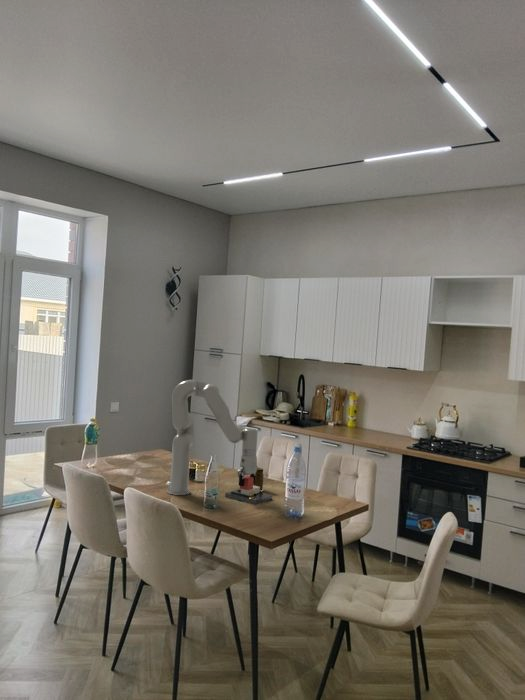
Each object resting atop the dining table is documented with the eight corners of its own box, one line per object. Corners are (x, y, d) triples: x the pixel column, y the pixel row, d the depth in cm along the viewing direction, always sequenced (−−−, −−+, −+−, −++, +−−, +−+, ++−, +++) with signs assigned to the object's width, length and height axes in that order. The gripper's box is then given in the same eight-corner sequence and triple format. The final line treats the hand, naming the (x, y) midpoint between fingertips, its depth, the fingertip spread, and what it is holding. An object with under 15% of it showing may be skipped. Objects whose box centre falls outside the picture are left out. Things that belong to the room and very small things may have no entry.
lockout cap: (239, 488, 296) (240, 477, 296) (245, 486, 300) (245, 475, 300) (247, 490, 293) (248, 478, 293) (252, 488, 297) (253, 477, 297)
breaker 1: (240, 494, 295) (241, 488, 295) (246, 492, 300) (246, 487, 300) (248, 496, 293) (249, 490, 293) (254, 494, 297) (254, 489, 297)
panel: (225, 496, 297) (225, 491, 297) (241, 491, 310) (241, 486, 310) (256, 504, 286) (256, 499, 286) (272, 499, 299) (272, 494, 299)
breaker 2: (246, 492, 301) (247, 486, 301) (251, 490, 305) (252, 485, 305) (254, 494, 298) (254, 488, 298) (259, 492, 302) (260, 486, 302)
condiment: (259, 488, 321) (261, 467, 321) (266, 491, 314) (268, 470, 314) (248, 488, 318) (249, 467, 318) (255, 492, 310) (257, 471, 310)
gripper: (245, 455, 287) (243, 488, 287) (263, 451, 302) (261, 483, 302) (233, 452, 291) (231, 485, 291) (252, 449, 306) (250, 480, 306)
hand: (246, 484), depth 297 cm, fingers open, 9 cm apart
